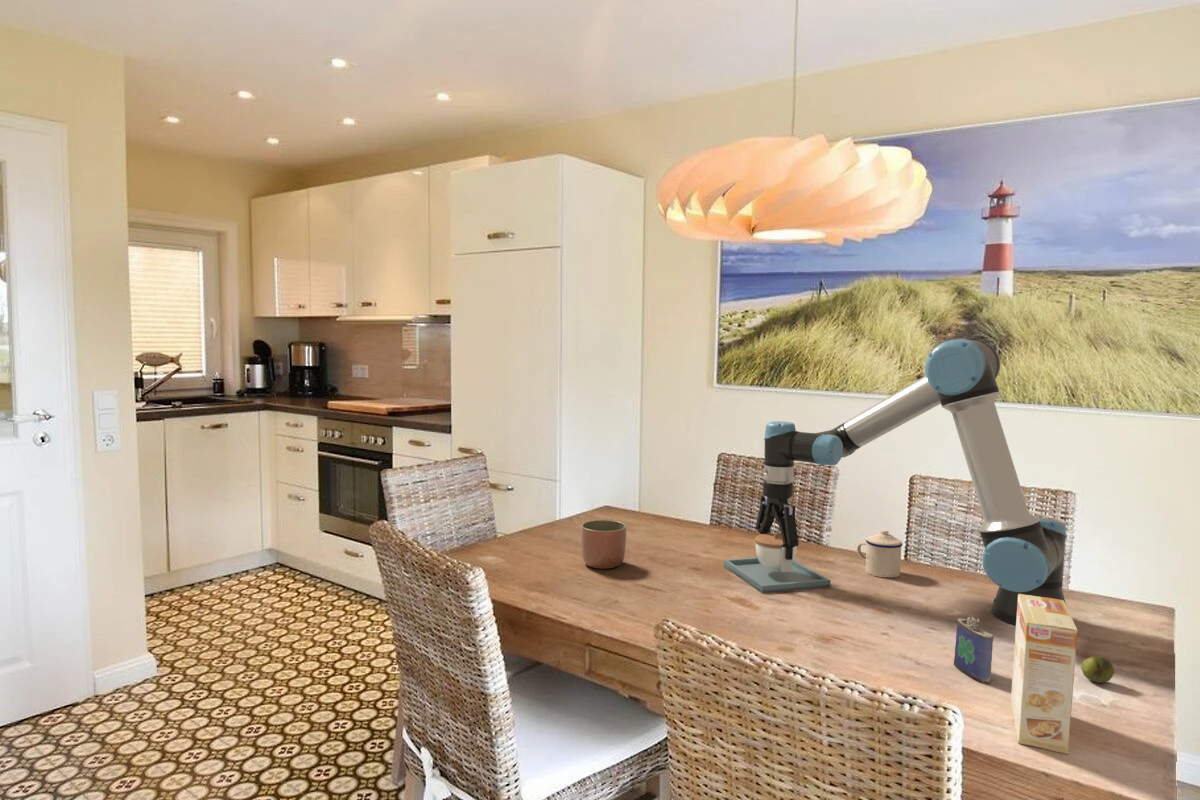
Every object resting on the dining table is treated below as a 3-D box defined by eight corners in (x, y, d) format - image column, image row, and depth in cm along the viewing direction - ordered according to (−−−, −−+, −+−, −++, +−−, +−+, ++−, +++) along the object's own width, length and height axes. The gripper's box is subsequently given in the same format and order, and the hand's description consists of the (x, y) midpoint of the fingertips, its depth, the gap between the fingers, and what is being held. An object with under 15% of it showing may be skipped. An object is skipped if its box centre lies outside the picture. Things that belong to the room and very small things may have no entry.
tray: (830, 587, 188) (830, 580, 188) (762, 593, 183) (762, 586, 183) (785, 561, 209) (786, 555, 209) (723, 566, 204) (723, 559, 204)
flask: (993, 684, 136) (997, 626, 135) (979, 685, 136) (982, 627, 135) (962, 662, 145) (965, 608, 144) (948, 663, 145) (951, 609, 144)
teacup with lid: (906, 573, 200) (909, 530, 199) (891, 581, 193) (893, 536, 192) (864, 563, 208) (866, 522, 207) (848, 570, 202) (850, 527, 201)
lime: (1076, 678, 139) (1078, 652, 139) (1097, 676, 140) (1099, 650, 140) (1097, 689, 135) (1099, 662, 134) (1119, 687, 136) (1121, 660, 135)
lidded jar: (780, 560, 203) (781, 526, 202) (804, 572, 193) (806, 536, 192) (746, 564, 199) (747, 529, 198) (769, 576, 189) (770, 539, 188)
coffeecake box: (1070, 755, 113) (1079, 630, 111) (1016, 744, 116) (1024, 622, 114) (1057, 711, 127) (1065, 598, 125) (1009, 702, 130) (1016, 592, 128)
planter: (612, 574, 196) (612, 533, 195) (571, 566, 202) (572, 527, 201) (633, 562, 206) (634, 523, 205) (595, 555, 212) (595, 517, 212)
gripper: (744, 473, 204) (742, 552, 206) (788, 491, 182) (784, 579, 184) (769, 472, 206) (766, 551, 208) (815, 489, 184) (811, 577, 186)
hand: (775, 564), depth 196 cm, fingers closed on lidded jar, 11 cm apart
